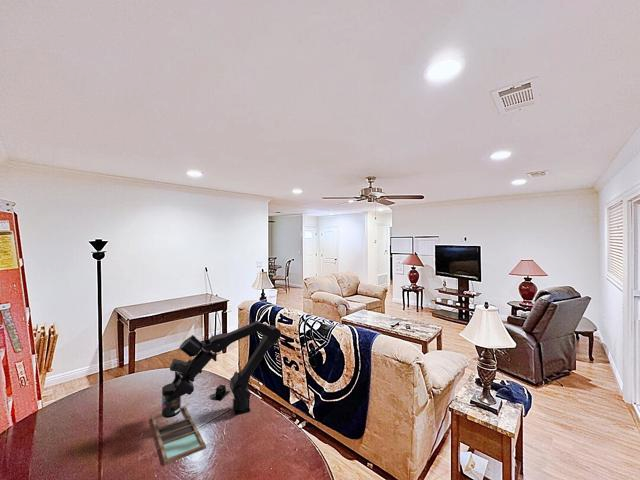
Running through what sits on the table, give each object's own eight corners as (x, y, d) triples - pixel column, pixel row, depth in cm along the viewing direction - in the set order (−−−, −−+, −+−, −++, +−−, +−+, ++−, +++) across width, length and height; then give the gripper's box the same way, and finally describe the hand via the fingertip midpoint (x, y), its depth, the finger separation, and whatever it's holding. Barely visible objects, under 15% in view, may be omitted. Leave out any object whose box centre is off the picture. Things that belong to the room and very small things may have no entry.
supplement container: (169, 407, 115) (170, 381, 115) (184, 409, 113) (184, 383, 114) (157, 417, 108) (157, 390, 109) (172, 419, 107) (172, 392, 107)
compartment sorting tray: (151, 418, 116) (151, 416, 116) (185, 408, 124) (185, 406, 124) (164, 465, 92) (164, 461, 92) (205, 448, 100) (206, 445, 100)
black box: (220, 403, 129) (220, 393, 129) (206, 401, 131) (206, 391, 131) (233, 390, 141) (234, 381, 142) (220, 389, 143) (220, 380, 143)
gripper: (181, 344, 122) (151, 376, 116) (184, 359, 105) (149, 397, 100) (201, 359, 125) (172, 390, 120) (206, 376, 109) (174, 413, 103)
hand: (167, 397), depth 110 cm, fingers closed on supplement container, 7 cm apart
